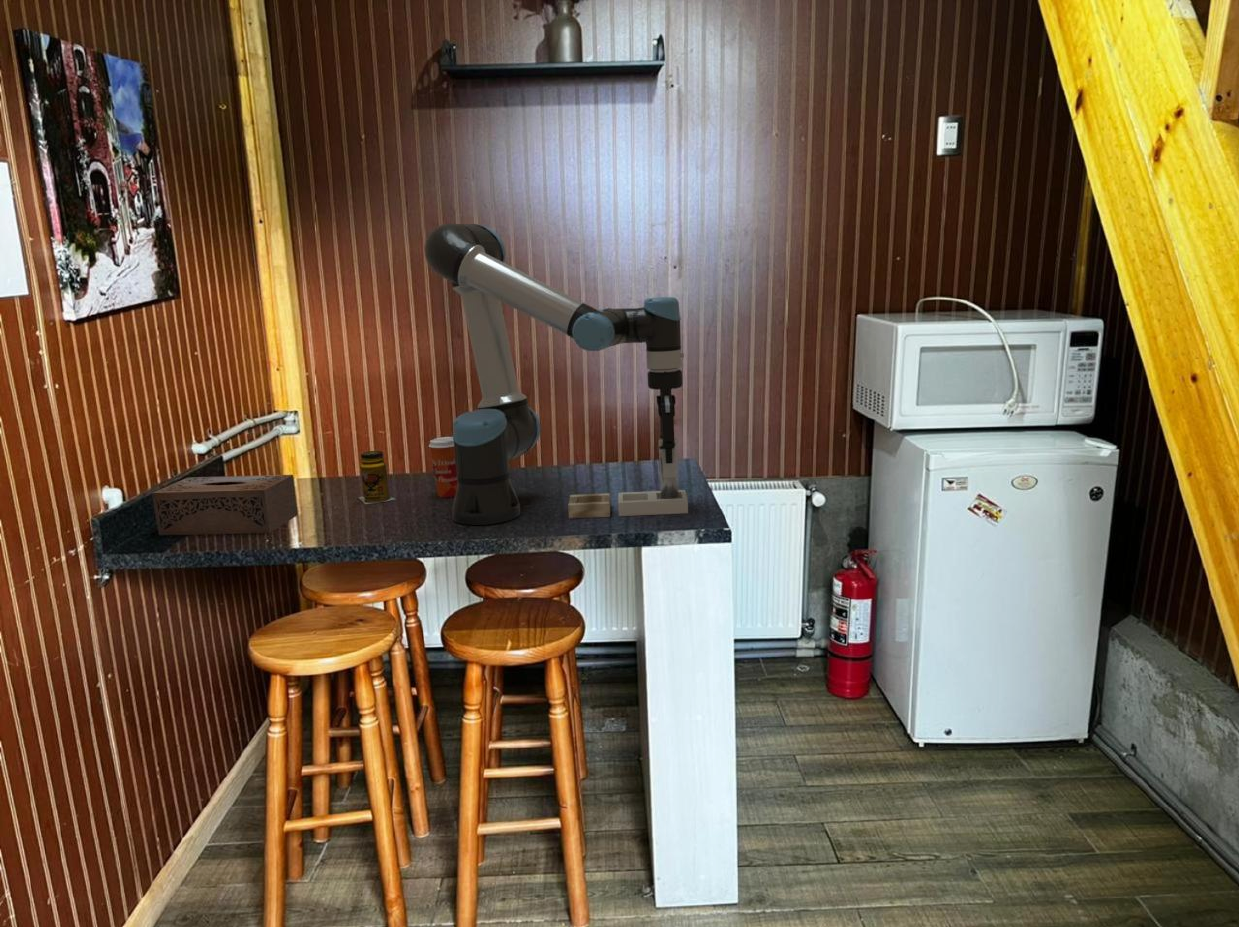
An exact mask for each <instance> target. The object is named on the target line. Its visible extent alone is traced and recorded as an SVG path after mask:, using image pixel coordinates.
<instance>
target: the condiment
mask: <svg viewBox="0 0 1239 927" xmlns="http://www.w3.org/2000/svg"><path fill="white" fill-rule="evenodd" d="M360 458H361V459H360V460H361V464H360V474H361V483H362V492H363V496H359V497H358V498H359V500H360V501H361V502H362V503H363V504H364V505H371V504H379V503H384V502H389V501H395V500H396V498H394V497H393V496H392V495H391V494H390V489H389V481H388V479H389V478H388V471H387V470H388V469H387V464H386V462H385V461H384V453H383V451H381V450H370V451H365V452H362V453H361V454H360Z"/></svg>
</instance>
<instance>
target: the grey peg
mask: <svg viewBox="0 0 1239 927" xmlns="http://www.w3.org/2000/svg"><path fill="white" fill-rule="evenodd" d="M677 442H678V439H677V438H675V437H674V443H675V447H674V448H675V470H676V477H668V478H663V457H662V449H660V448H659V446H662V445H663V439H661V438H659V439H658V454H659V456H658V458H659V460H658V461H659V478H660V479H659V482H660V491H661V498H663V499H675V498H678V497H679V490H680V489H679V467H678V466H679V465H678V463H679V462H678V443H677Z"/></svg>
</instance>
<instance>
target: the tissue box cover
mask: <svg viewBox="0 0 1239 927" xmlns="http://www.w3.org/2000/svg"><path fill="white" fill-rule="evenodd" d="M295 487H296V486H295V480H294V474H277V475H276V474H268V475H267V474H266V475H261V474H260V475H238V476H237V475H235V476H234V475H233V476H232V475H231V476H230V475H229V476H198V477H197V476H196V477H193V476H192V477H186V478H183V479H182V480H181V479H180V480H179V481H175V482H174V483H171V484H169V485H167V486H165V487H163V488H160V489H157V490H156V491H153V492H151V496H152V501H153V502H152V503H153V507H154V508H153V510H154V513H155V519H156V520H155V521H156V525H157V531H158V533H157V534H158V536H187V535H188V536H189V535H191V536H192V535H195V536H196V535H218V534H219V535H230V534H231V535H232V534H234V535H235V534H237V535H238V534H271V533H273V532H274V531H276V530H277V529H278V528H280V527H282V526H283V525H285V524H287V522H290V521H291V520H292V519H294V518H295V517H297V516H299V511H298V503H297V496H296V488H295Z"/></svg>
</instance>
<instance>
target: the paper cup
mask: <svg viewBox="0 0 1239 927" xmlns="http://www.w3.org/2000/svg"><path fill="white" fill-rule="evenodd" d="M428 448H430V454H431V461H432V468H433V474H434V479H435V480H434V481H435V486H436V493H437V497H439V498H453V497H454V498H455V495H456V491H457V487H458V480H457V470H456V459H455V449H454V440H453V436H444V437H443V436H442V437H437V438H434V439H431V440H429V444H428Z"/></svg>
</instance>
